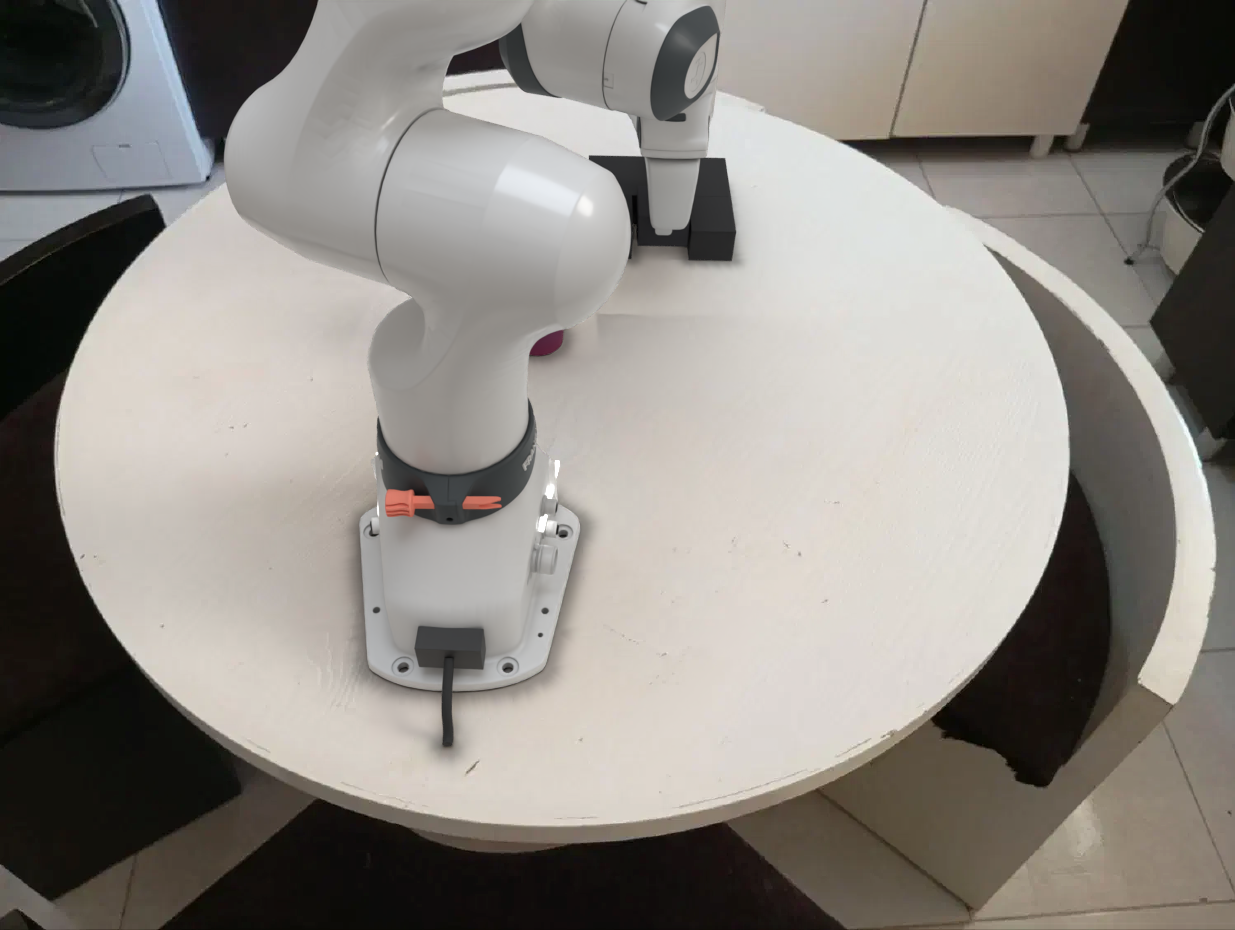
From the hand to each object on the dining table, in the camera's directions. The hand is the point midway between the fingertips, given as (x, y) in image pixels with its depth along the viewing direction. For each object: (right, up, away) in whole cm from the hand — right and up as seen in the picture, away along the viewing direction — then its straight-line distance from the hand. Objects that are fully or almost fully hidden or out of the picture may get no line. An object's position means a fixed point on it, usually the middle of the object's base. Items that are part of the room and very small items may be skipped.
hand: (661, 211), depth 109 cm
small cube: (0, -2, +2) cm, 3 cm away
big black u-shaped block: (0, 0, +6) cm, 6 cm away
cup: (-13, -15, -7) cm, 21 cm away
